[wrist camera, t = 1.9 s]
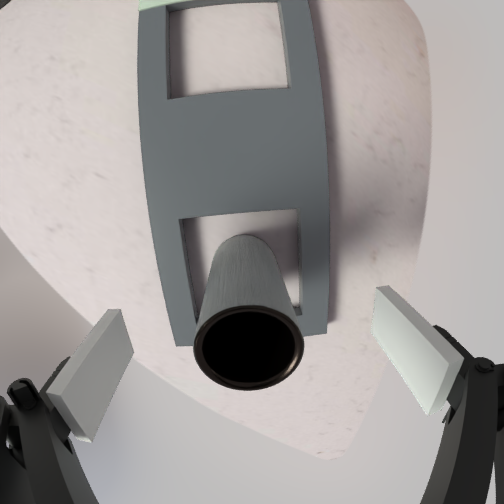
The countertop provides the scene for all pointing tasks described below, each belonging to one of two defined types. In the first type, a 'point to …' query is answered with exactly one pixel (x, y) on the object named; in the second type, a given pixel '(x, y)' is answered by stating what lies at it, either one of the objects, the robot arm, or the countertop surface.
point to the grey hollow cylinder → (247, 319)
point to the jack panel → (234, 158)
